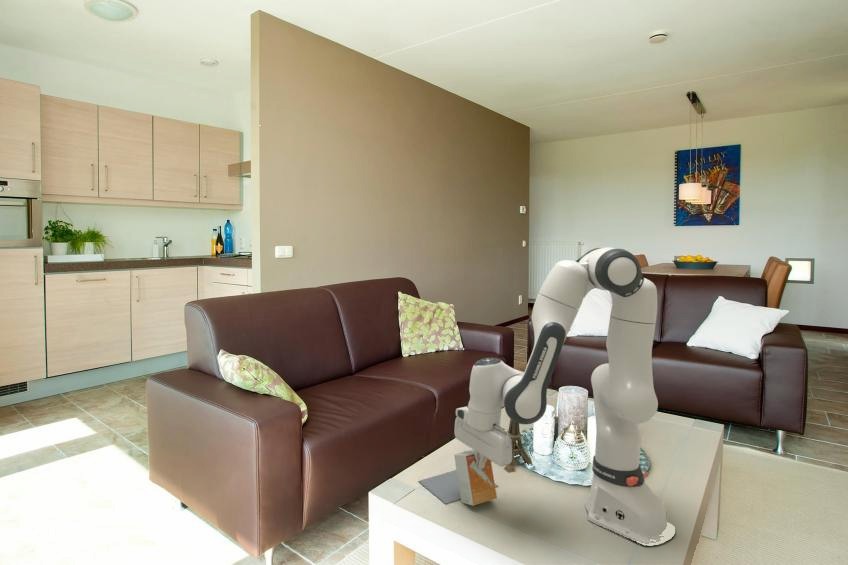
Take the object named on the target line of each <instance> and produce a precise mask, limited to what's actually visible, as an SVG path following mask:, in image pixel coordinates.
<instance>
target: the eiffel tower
mask: <svg viewBox="0 0 848 565" xmlns="http://www.w3.org/2000/svg"><path fill="white" fill-rule="evenodd" d="M520 430H521V429H520V424H519V423H516V422H514V421H513V420H511V419H510V418H509V426H508V430H507V431H508V433H509V435H510V437H511V442H512V462H511V463H510V464H508V465H505V466H504V467H503V470H505V472H507V473H508V474H510V473H514V472H517V470H516V468H515V460H514V459H515V458H514V456H516V455H518V454H519V455H520V456H521V458H522V461H523V463H527V464H528V465H529V464H532V463H533V461H532V459H531V458H530V457H529V455H528V453H527V452H526V451H525V449H526V447H524V445H523V443H522V442H523V441H522V437H523V435H522V433H521V432H520Z"/></svg>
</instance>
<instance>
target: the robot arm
mask: <svg viewBox="0 0 848 565" xmlns="http://www.w3.org/2000/svg"><path fill="white" fill-rule="evenodd" d="M593 289H598V290H602V291H608V292H609V294H610V296H611V304H612V305H611V308H610V309H611V310H610V315H609V322H608V328H607V335H606V341H605V342H606V343H605V346H606V350H607V356H608V358H607V359H608V363H607V362H606V363H602V364H600V365H598V366H597V367H596V368H595V369H594V370H593V371H592V372H591V373H592V374H591V376H590V382H591V387H592V391H593V392H592V393H593V394H592V395H593V405H594V406H593V407H594V415H595V416H594V417H595V425H596V426H595V427H596V428H595V429H596V435H595V451H594V452H595V453H594V456H593V459H592V473H593V474H592V480H591V481H592V482H591V484H590V490H589V494H588V497H587V500H586V501H585V505H584V506H585V509H586V512H587V513H588V514H587V515H588V516H587V519H588V521H590V522H592V523H593V524H595V525H598V526H600V527H601V526H602V528H604V529H606V528H607V529H606V530H608V529H609V530H608V531H610V530H612V531H614V532H616V533H618V534H621V535H623V536H625V537H628V538H630V539H633V540H635V541H639V542H641V543H645V544H649V543H656V542H659V541H661V540H660V538H661V537H664V536H659V535H661V534H662V532H663V531H664V530H665V529H666V527H667V521H668V519H667V518H668V517H667V512H666V507H665V505H664V503H663V502H662V501H661V500H660V498H659V497H658V496H657V495H656V494H655V493H654V491H653V490H652V489H651V488H650V487H649V485H648V484H647V483H646V481H645V478H647V477H648V476H649V472H648V471H646V472H643V470H642V467H641V464H640V459H641V458H640V456H641V445H642V444H641V443H642V435H641V431H640V428H639V425H638V424H644V423H646V422H649V421H651V419H652V418H654V416H655V415H656V413H657V411H658V407H659V401H658V397H657V394H656V392H655V388H654V375H653V360H652V356H653V355H652V354H653V352H652V351H653V344H654V336H655V330H656V323H657V315H658V289H657V286H656V285H655V283H654V282H653V281H651V280H650V279H648V278H645V277H644V274H643V272H642V269H641V265H640V262H639V260H638V258H637V256H635V255H634V254H633V253H632V252H630V251H629V250H626V249H623V248H618V247H617V248H616V247H612V246H611V247H610V246H605V247H596V248H593V249H590V250H589V251H587V252H586V253H584V254H583V255H582V256H580V257H579V258H578V259H577V260H571V259H570V260H569V259H562V260H559V261H558V262H556V263H555V264H554V266H553V267H552V268H551V269H550V271H549V273H548V274H547V276H546V278H545V279H544V281H543V283H542V285H541V287H540V289H539V292H538V293H537V295H536V298H535V301H534V304H533V308H532V312H531V322H532V327H533V333H534V334H533V336H534V344H533V348H532V350H531V351H532V352H531V354H530V357H529V359H528V362H527V365H526V367H525V370H524V371H521V370H518V369H515V368H513V367H511V366H509V365H508V364H506V363H505V362H504V361H503V360H502V359H501V358H497V357H484V358H481V359H478V360H477V361H475V363H473V366H472V369H471V373H470V378H469V388H468V390H469V395H470V396H469V401H468V404H467V406H463V407H458V408H456V409H455V416H456V418H455V421H454V432H453V433H454V436H455V439H456V440H457V441H459V442H461V443H462V444H464V445H465V446H467V447H469V449H471V450H474V455H475V458H476V466H477V467H478V468H480V469H483V468H484V467H485V462H486V460H487V459H489V460H491V463H494V464H496V465H497V466H499V467H506V465H508V464H510V463H511V462H512V442H511V437H510V435H509V433H508V430H507V429H505V428H503V427H502V426H501V418H502V417H501V416H502V415H501V414H502V408H503V407H504V410H505V413H506V415H507V416H508V417H509V420H510V419H511V420H513V421H514V422H516V423H519V425H531V424H534V423H537V422H538V421H540V420H541V419H542V417H543V416H544V415H545V413H546V410H547V402H548V401H547V396H548V395H547V393H548V387H549V384H550V381H551V378H552V376H553V373H554V371H555V368H556V365H557V363H558V360H559V357H560V355H561V351H562V348H563V346H564V343H565V341H566V340H567V338H568V337H567V336H568V335H569V332H570V330H571V328H572V326H573V324H574V322H575V319H576V317H577V315H578V313H579V311H580V308H581V306H582V303H583V300H584V299H585V297H586V296H587V295H588V294H589V293H590V292H591V291H592V290H593ZM612 531H611V532H612ZM614 532H613V533H614ZM616 533H615V534H616ZM618 534H617V535H618ZM621 535H620V536H621ZM623 536H622V537H623ZM625 537H624V538H625ZM650 539H652V540H653V539H654V540H656V542H654V541H650Z"/></svg>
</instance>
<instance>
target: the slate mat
mask: <svg viewBox="0 0 848 565" xmlns="http://www.w3.org/2000/svg"><path fill="white" fill-rule="evenodd" d="M417 482H418V483H419V484H420V485H422V487H424V488H425V489H427V491H428V492H430V493H431V494H432V495H433V496H435V497H436V498H437V499H438V500H439V501H440V502H442V503H443V504H444V505H449V504H451V503H454V502H457V501H461V497H460V490H459V484H458V477H457V470H456V469H454V470H451V471H448V472H445V473H441V474H437V475H433V476H430V477H427V478H424V479H421V480H418V481H417ZM496 488H499V484H497V483H495V489H496Z"/></svg>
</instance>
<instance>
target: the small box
mask: <svg viewBox="0 0 848 565" xmlns="http://www.w3.org/2000/svg"><path fill="white" fill-rule="evenodd" d="M454 463H455V470H457V477H458V484H459V490H460V497H461V500H460V501H461V503H463V504H466V505H469V506H473V507H474V506H476V505H480V504H483V503H486V502H490V501H493V500H496V499H497V498H498V496H497V490H496V488H495V484H496V483H495V477H494V473H493V472H494V471H493V466H492V461H491V460H489V459H487V460H486V462H485V467H484V468H483V469H480V468H478V467H477V466H476V458H475V455H474V450H473V449H469V450H465V451H464V450H463V451H462V452H458V453H454Z"/></svg>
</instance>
